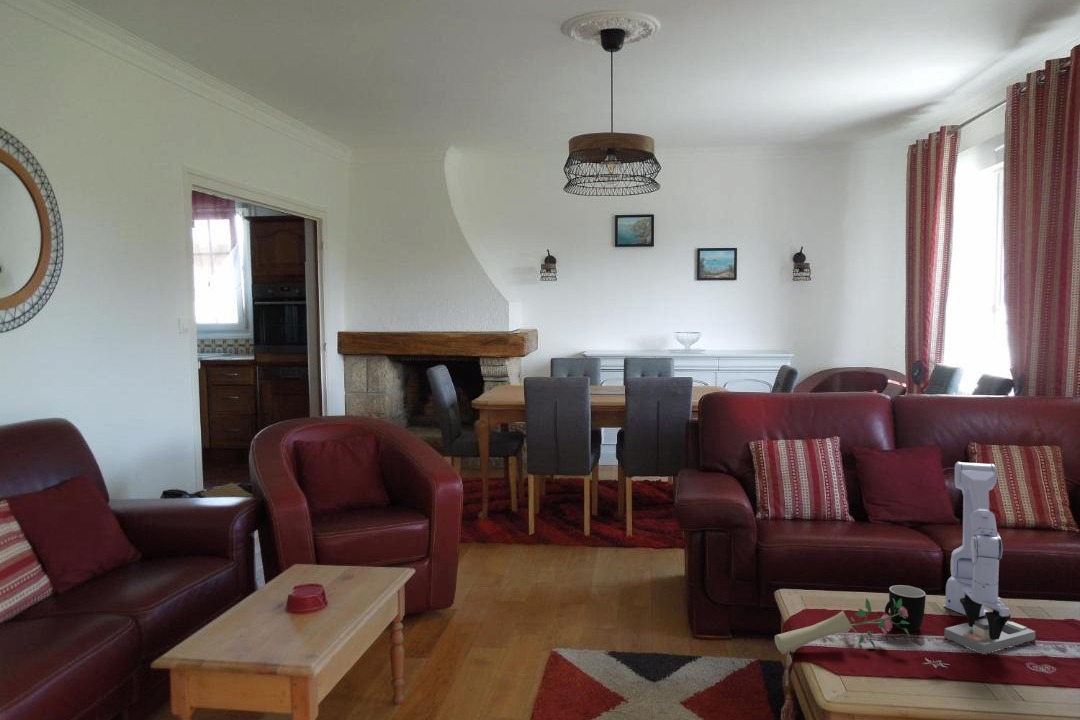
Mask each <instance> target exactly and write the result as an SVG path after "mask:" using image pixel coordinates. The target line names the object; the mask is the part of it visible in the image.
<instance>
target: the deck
mask: <svg viewBox="0 0 1080 720" xmlns="http://www.w3.org/2000/svg"><path fill="white" fill-rule="evenodd" d="M979 620H987V617H985V618H979ZM987 621H988V620H987ZM1005 632H1006V633H1005ZM1007 633H1009V634H1007ZM943 634H944V635H943V637H946V638H945V639H947V638H949V639H951V640H954V641H956V642H958V643H960V644H963V645H965V646H967V647H969V648H971V649H974V650H976V651H978V652H980V653H982V654H981V655H983V654H985V653H989V652H992V651H995V650H998V649H1002V648H1006V647H1009V646H1013V645H1017V644H1020V643H1023V642H1027V641H1031V640H1034V639H1035V640H1036V630H1033V629H1031V628H1028V627H1027V626H1026V625H1025V626H1024V625H1023V624H1019V623H1017V622H1014V621H1010V620H1008V621H1007V622H1006V624H1005V625H1004V627H1003V629H1002V632H1001V635H1000V637H999V639H995V640H992V639H991V640H987V641H986V640H983V639H982V638H980V637H978V636H975V635H973V627H970V626H969V624H968V622H965V623H961V624H957V625H954V626H953V625H952V626H949V627H946V628H945V627H944V633H943ZM949 639H948V640H949ZM951 640H950V641H951ZM956 642H955V643H956ZM958 643H957V644H958ZM960 644H959V645H960ZM965 646H964V647H965ZM1017 646H1018V645H1017ZM967 647H966V648H967ZM969 648H968V649H969ZM971 649H970V650H971ZM974 650H973V651H974ZM976 651H975V652H976ZM978 652H977V653H978ZM980 653H979V654H980ZM992 653H993V652H992ZM989 654H990V653H989ZM985 655H986V654H985Z"/></svg>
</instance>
